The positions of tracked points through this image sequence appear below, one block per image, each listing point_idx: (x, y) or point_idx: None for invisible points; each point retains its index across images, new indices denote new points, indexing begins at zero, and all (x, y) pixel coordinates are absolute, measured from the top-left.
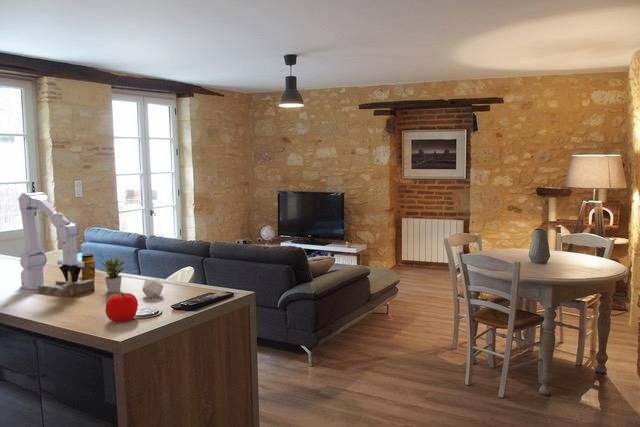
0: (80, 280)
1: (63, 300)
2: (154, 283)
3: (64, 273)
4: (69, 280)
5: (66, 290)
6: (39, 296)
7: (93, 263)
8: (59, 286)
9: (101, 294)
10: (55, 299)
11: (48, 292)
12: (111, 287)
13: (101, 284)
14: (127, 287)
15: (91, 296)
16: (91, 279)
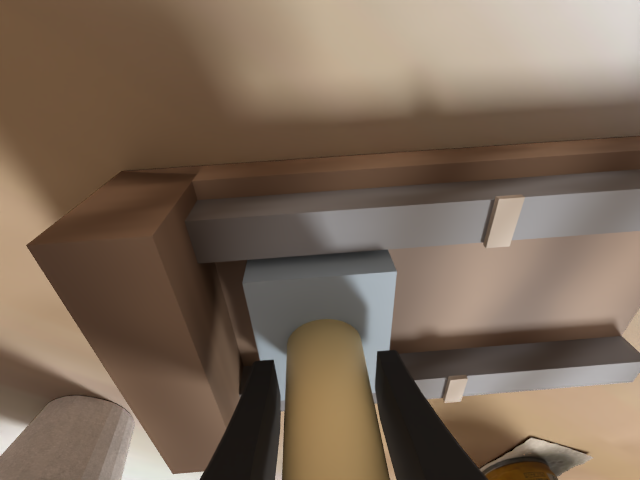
0: (532, 445)
1: (52, 21)
2: None
3: (431, 475)
4: (316, 373)
5: (222, 211)
6: (556, 8)
7: None
8: (531, 310)
9: (40, 346)
10: (204, 3)
11: (522, 150)
12: (19, 438)
13: None
14: None
15: (23, 281)
16: (482, 471)
